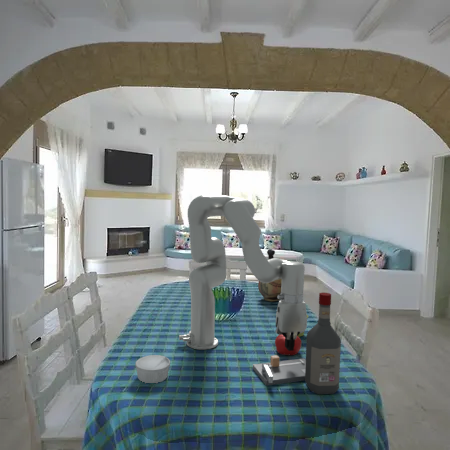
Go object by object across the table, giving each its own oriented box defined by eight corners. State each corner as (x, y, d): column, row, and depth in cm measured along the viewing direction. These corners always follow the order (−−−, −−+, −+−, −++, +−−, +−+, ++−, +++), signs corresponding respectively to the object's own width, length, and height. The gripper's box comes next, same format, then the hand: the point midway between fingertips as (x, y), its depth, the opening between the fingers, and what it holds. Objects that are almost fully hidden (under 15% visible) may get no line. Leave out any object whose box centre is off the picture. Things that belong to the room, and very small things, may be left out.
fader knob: (272, 366, 128) (272, 357, 128) (270, 364, 130) (270, 355, 130) (279, 366, 129) (279, 357, 128) (276, 363, 130) (277, 354, 130)
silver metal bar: (261, 369, 125) (261, 363, 125) (268, 369, 126) (268, 362, 126) (267, 383, 116) (267, 376, 116) (274, 382, 117) (274, 376, 116)
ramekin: (172, 383, 119) (172, 367, 119) (136, 388, 116) (136, 371, 116) (167, 368, 130) (167, 353, 129) (134, 371, 127) (134, 356, 126)
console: (266, 385, 119) (266, 379, 119) (252, 368, 130) (252, 362, 130) (322, 377, 124) (322, 371, 124) (304, 362, 136) (304, 356, 136)
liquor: (341, 394, 114) (345, 298, 112) (311, 395, 114) (315, 298, 111) (330, 379, 123) (334, 290, 121) (303, 380, 123) (306, 290, 120)
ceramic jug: (258, 295, 226) (259, 246, 224) (284, 296, 224) (285, 247, 222) (256, 303, 210) (258, 250, 207) (284, 304, 207) (286, 251, 205)
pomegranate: (298, 360, 138) (299, 336, 137) (272, 355, 142) (272, 331, 141) (302, 349, 147) (303, 326, 146) (277, 345, 151) (278, 322, 150)
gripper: (276, 302, 123) (273, 355, 125) (316, 299, 127) (314, 351, 129) (267, 295, 130) (265, 346, 132) (306, 293, 135) (303, 343, 136)
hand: (289, 349), depth 131 cm, fingers closed
